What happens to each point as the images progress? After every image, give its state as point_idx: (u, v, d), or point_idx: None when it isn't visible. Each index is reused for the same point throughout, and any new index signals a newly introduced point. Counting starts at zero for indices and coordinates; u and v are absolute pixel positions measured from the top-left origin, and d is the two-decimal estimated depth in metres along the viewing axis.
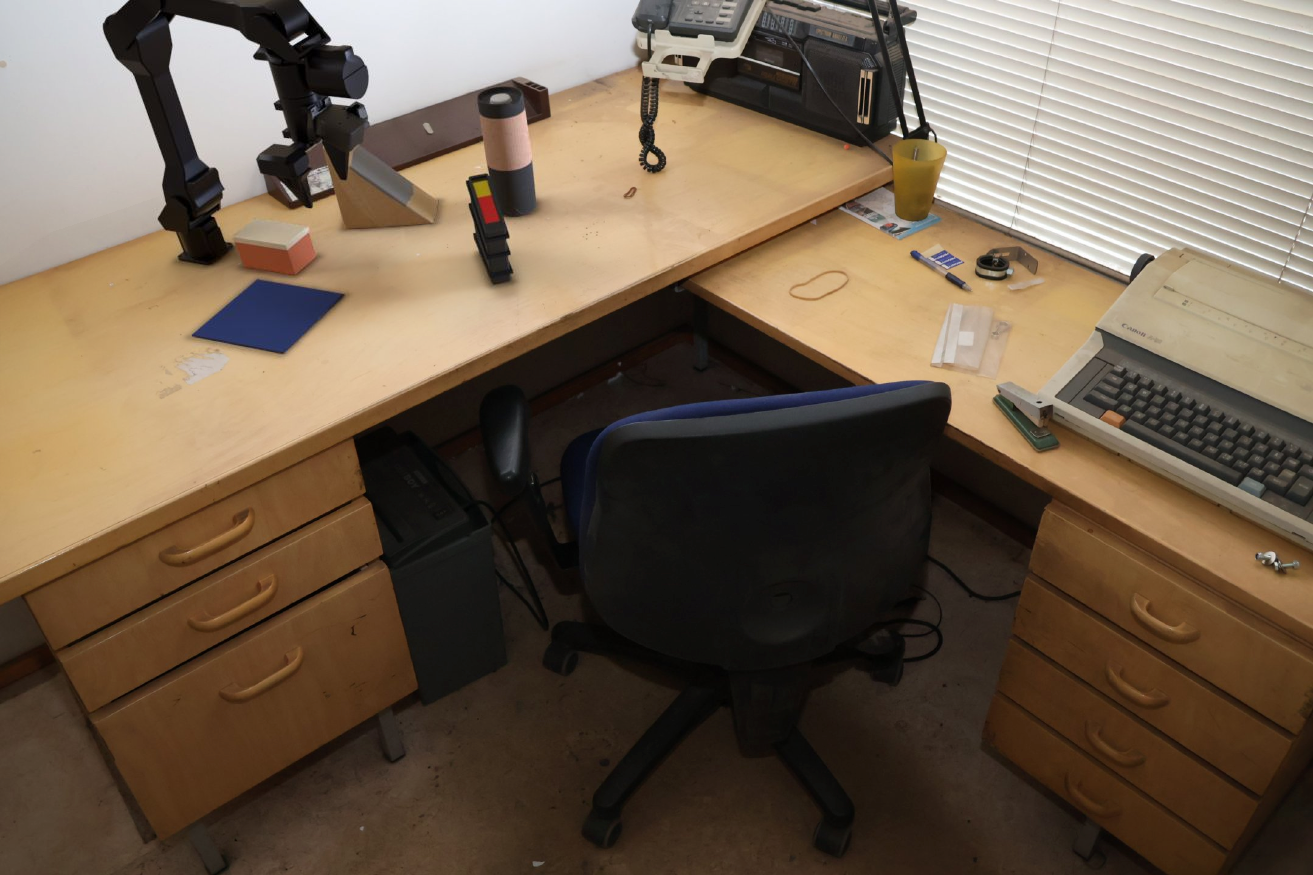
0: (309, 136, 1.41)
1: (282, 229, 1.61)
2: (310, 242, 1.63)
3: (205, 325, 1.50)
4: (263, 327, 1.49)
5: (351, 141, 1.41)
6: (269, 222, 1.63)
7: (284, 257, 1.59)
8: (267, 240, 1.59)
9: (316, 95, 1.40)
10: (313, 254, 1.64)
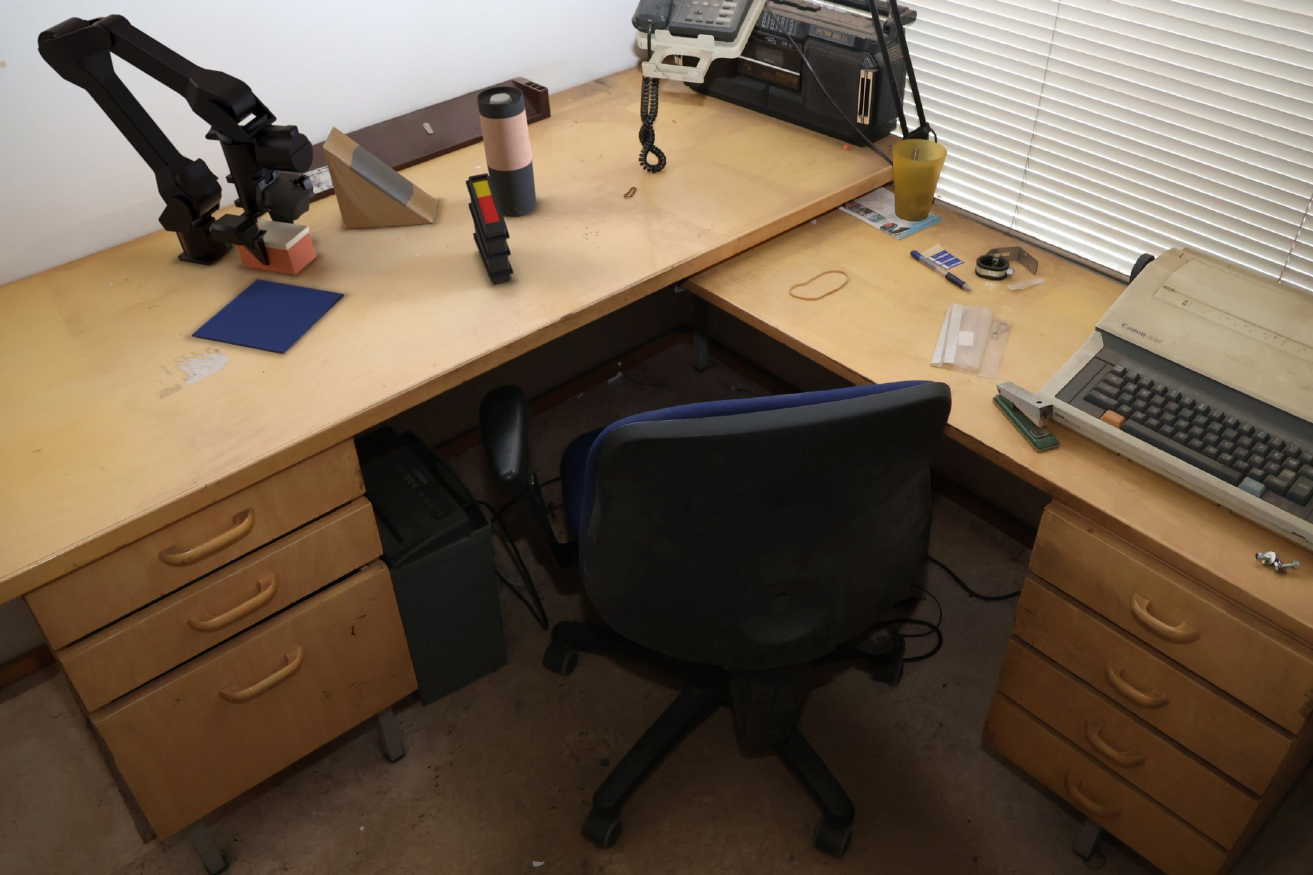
0: (258, 206, 1.54)
1: (282, 229, 1.61)
2: (310, 242, 1.63)
3: (205, 325, 1.50)
4: (263, 327, 1.49)
5: (296, 211, 1.54)
6: (269, 222, 1.63)
7: (284, 257, 1.59)
8: (267, 240, 1.59)
9: (264, 169, 1.53)
10: (313, 254, 1.64)
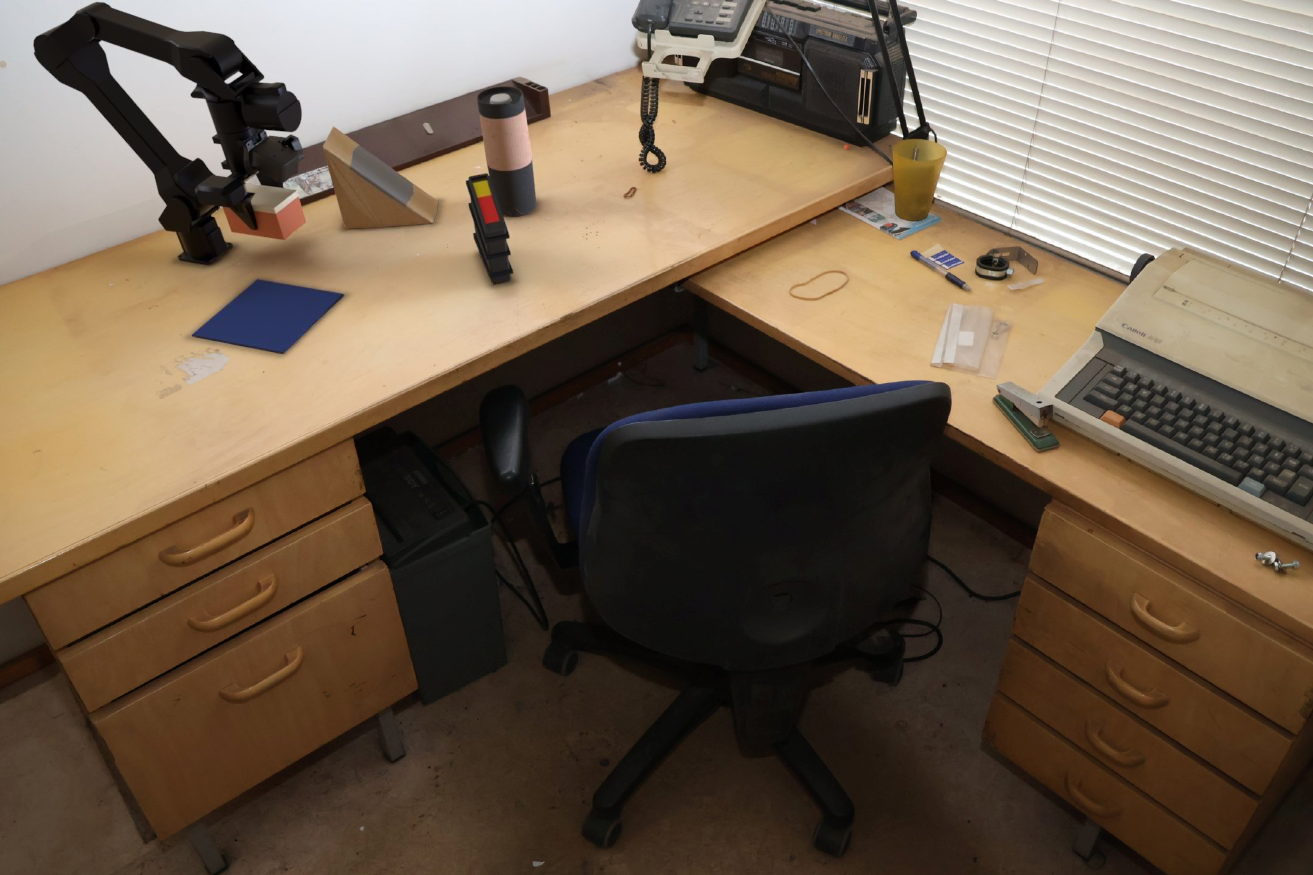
0: (245, 168, 1.50)
1: (271, 193, 1.57)
2: (300, 207, 1.59)
3: (205, 325, 1.50)
4: (263, 327, 1.49)
5: (285, 172, 1.50)
6: (258, 186, 1.59)
7: (272, 221, 1.55)
8: (255, 203, 1.54)
9: (251, 129, 1.49)
10: (303, 219, 1.60)
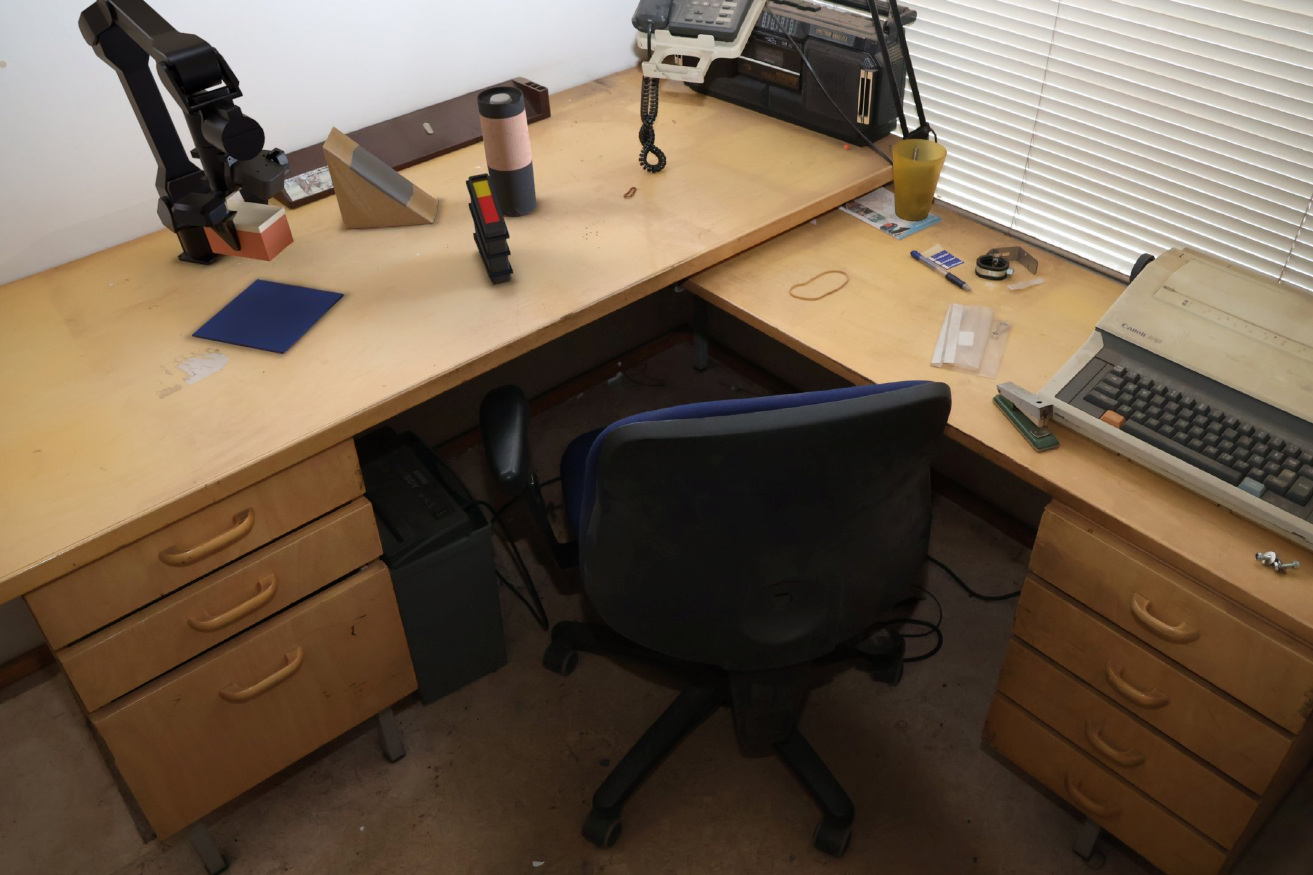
0: (227, 184, 1.38)
1: (255, 210, 1.45)
2: (287, 225, 1.47)
3: (205, 325, 1.50)
4: (263, 327, 1.49)
5: (270, 189, 1.38)
6: (241, 203, 1.47)
7: (257, 241, 1.43)
8: (238, 222, 1.43)
9: None
10: (290, 238, 1.48)
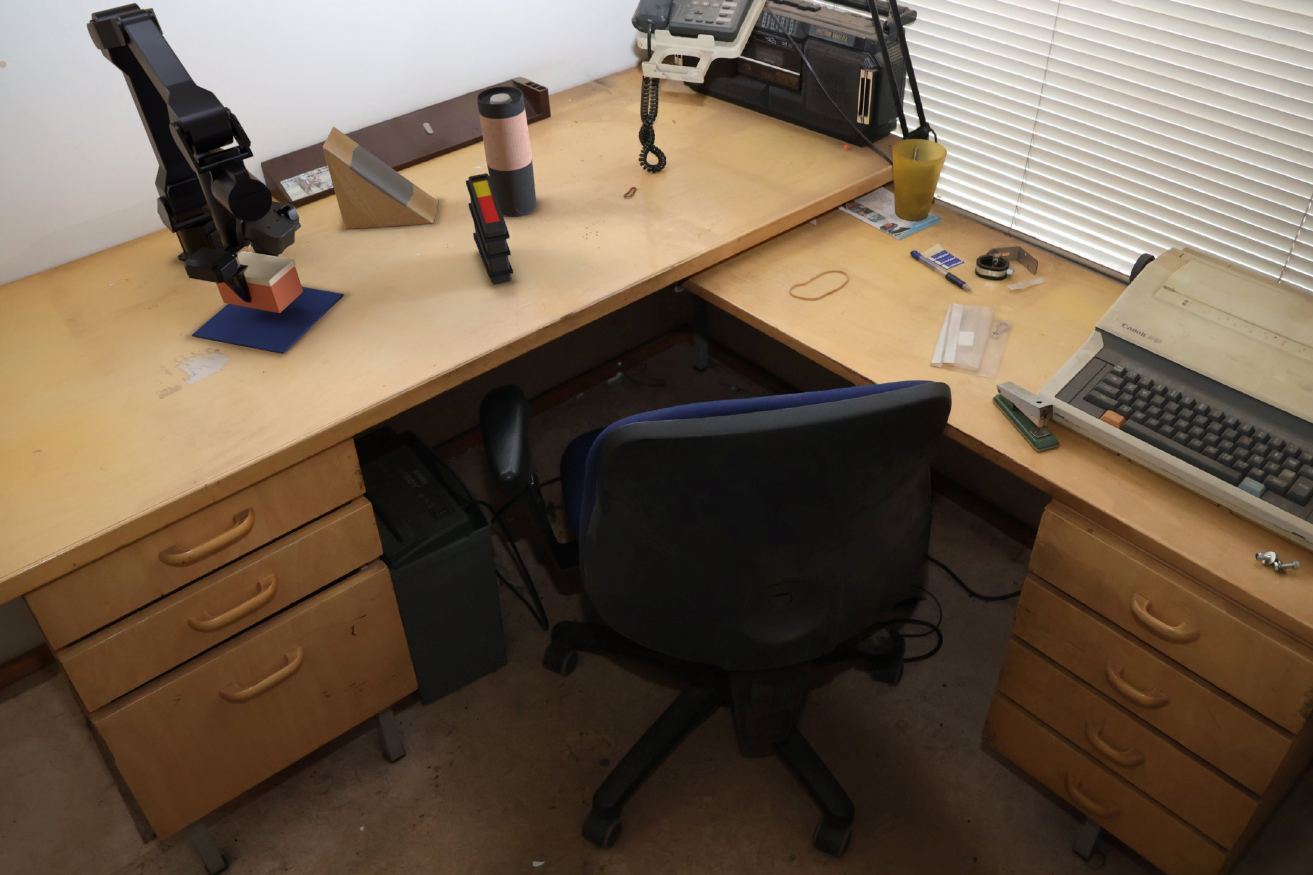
0: (238, 239, 1.40)
1: (265, 262, 1.47)
2: (296, 276, 1.49)
3: (205, 325, 1.50)
4: (263, 327, 1.49)
5: (280, 244, 1.40)
6: (251, 254, 1.49)
7: (267, 294, 1.45)
8: (249, 275, 1.45)
9: None
10: (300, 289, 1.50)
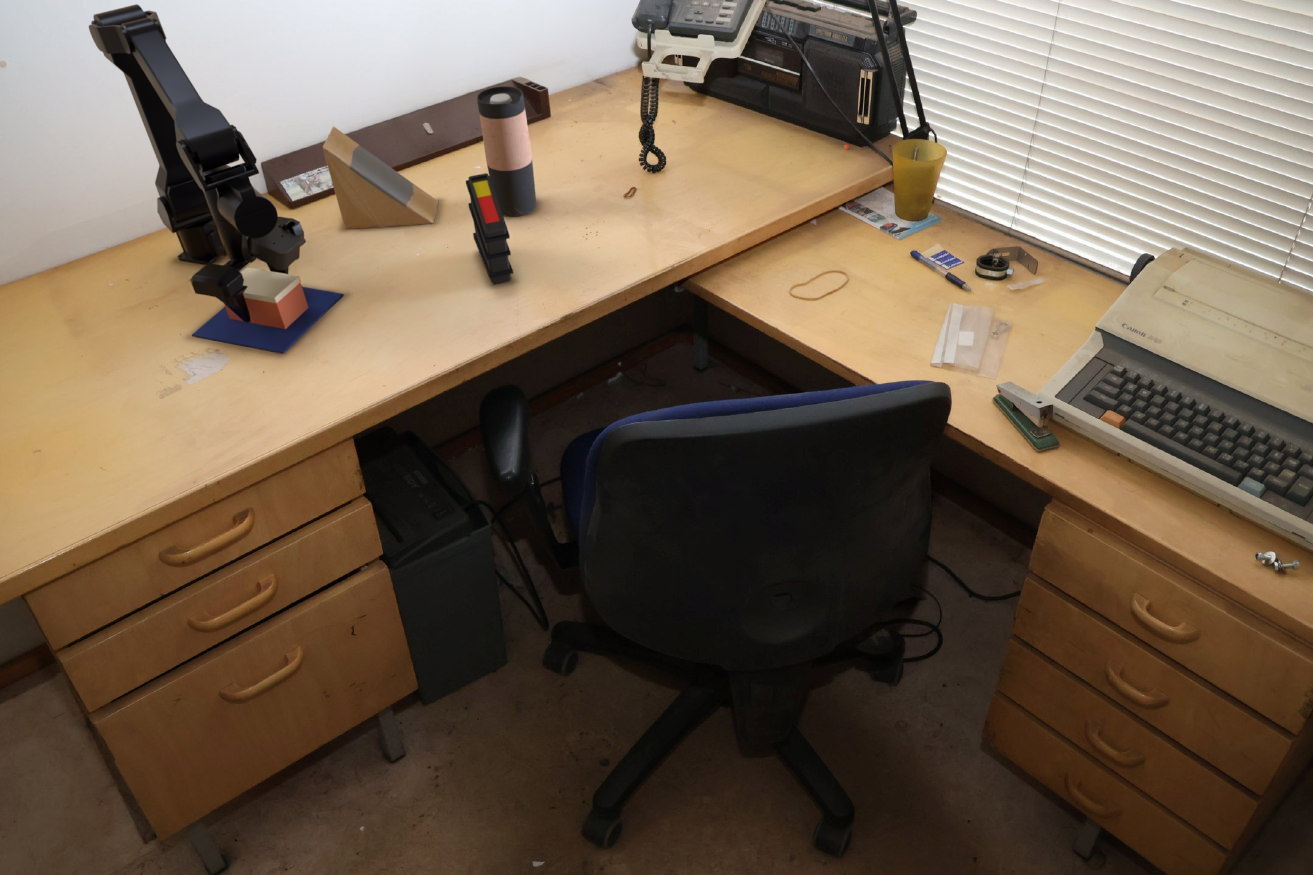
0: (244, 255, 1.42)
1: (271, 279, 1.49)
2: (302, 293, 1.51)
3: (205, 325, 1.50)
4: (263, 327, 1.49)
5: (286, 260, 1.41)
6: (257, 271, 1.51)
7: (273, 310, 1.47)
8: (255, 292, 1.46)
9: None
10: (305, 305, 1.52)
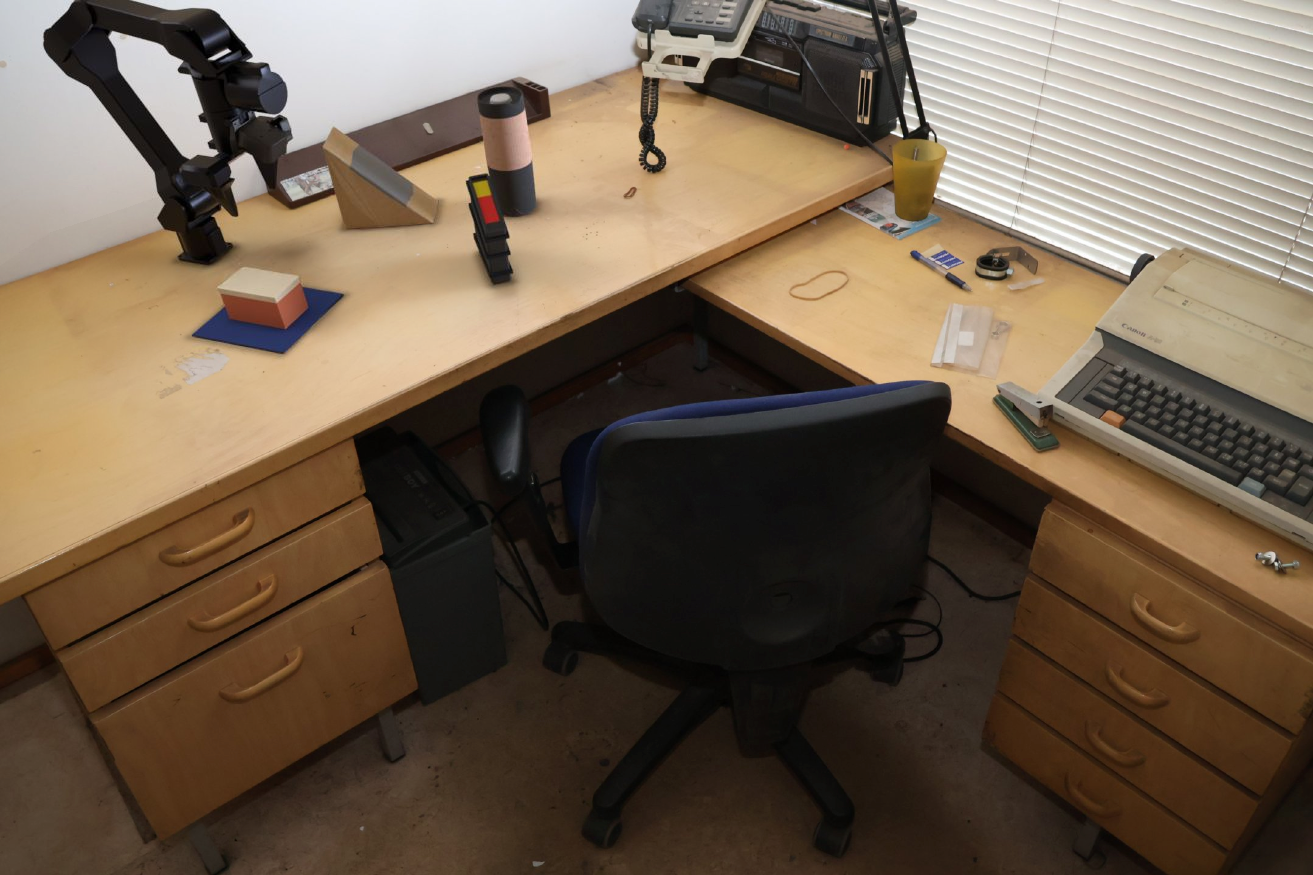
0: (232, 148, 1.46)
1: (271, 279, 1.49)
2: (302, 293, 1.51)
3: (205, 325, 1.50)
4: (263, 327, 1.49)
5: (272, 153, 1.46)
6: (257, 271, 1.51)
7: (273, 310, 1.47)
8: (255, 292, 1.46)
9: (239, 108, 1.44)
10: (305, 305, 1.52)
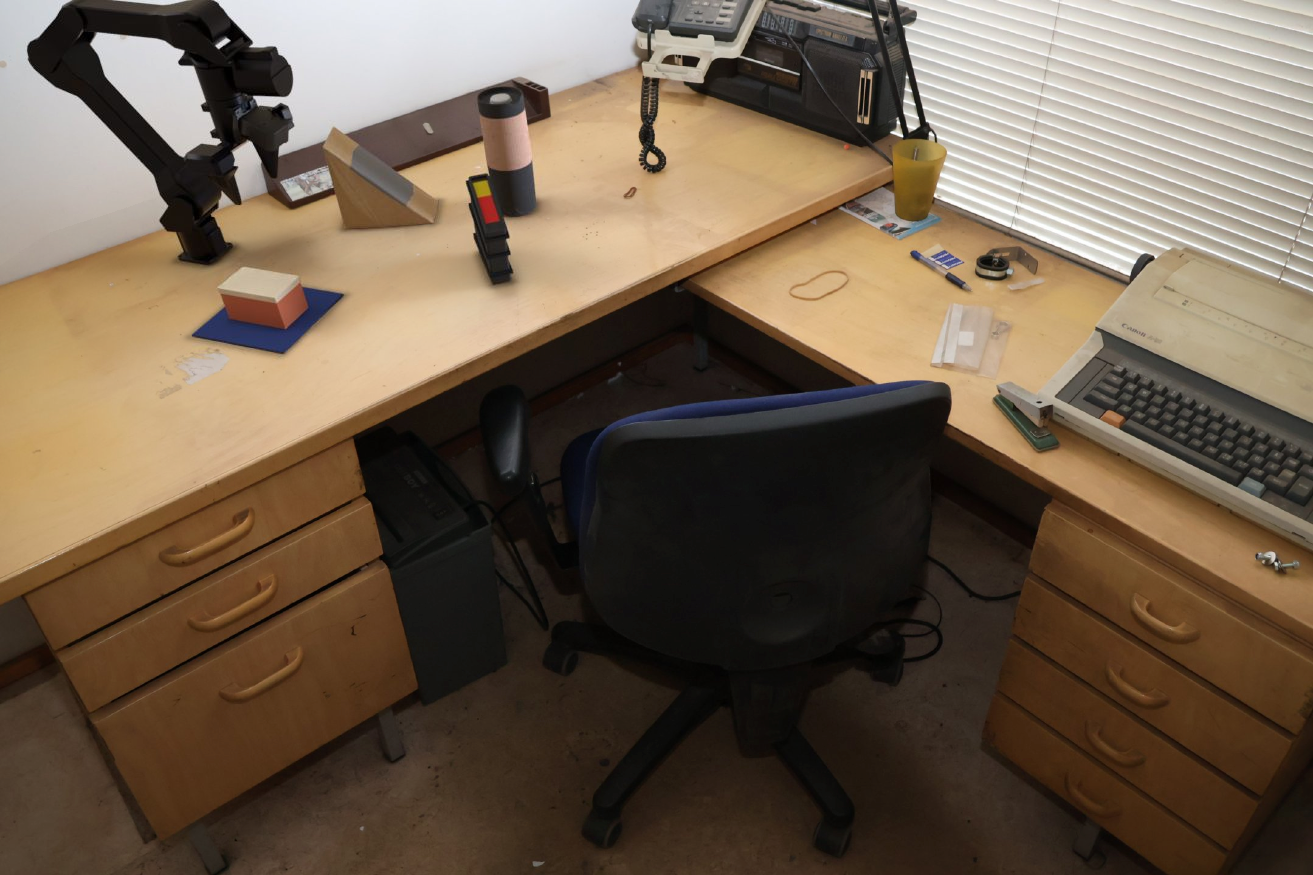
0: (235, 136, 1.48)
1: (271, 279, 1.49)
2: (302, 293, 1.51)
3: (205, 325, 1.50)
4: (263, 327, 1.49)
5: (275, 141, 1.48)
6: (257, 271, 1.51)
7: (273, 310, 1.47)
8: (255, 292, 1.46)
9: (241, 97, 1.47)
10: (305, 305, 1.52)
